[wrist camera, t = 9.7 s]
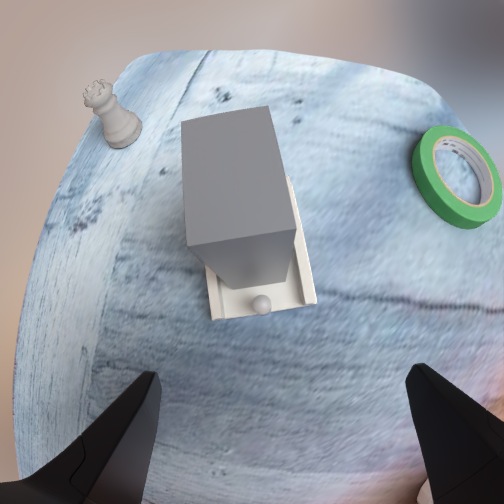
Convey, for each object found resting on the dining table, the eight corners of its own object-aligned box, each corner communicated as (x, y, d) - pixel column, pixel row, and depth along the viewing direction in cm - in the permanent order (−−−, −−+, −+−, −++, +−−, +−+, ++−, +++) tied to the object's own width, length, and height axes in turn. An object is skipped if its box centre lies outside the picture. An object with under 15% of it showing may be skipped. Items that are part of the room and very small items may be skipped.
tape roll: (414, 219, 24) (426, 208, 21) (405, 128, 26) (413, 113, 24) (495, 238, 22) (509, 230, 20) (480, 153, 25) (491, 141, 22)
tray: (315, 306, 22) (324, 302, 18) (215, 323, 22) (202, 322, 18) (290, 187, 25) (293, 161, 21) (201, 203, 25) (188, 180, 21)
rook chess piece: (141, 145, 28) (109, 96, 20) (106, 154, 28) (69, 112, 20) (145, 115, 29) (118, 67, 21) (112, 125, 29) (81, 82, 21)
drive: (285, 281, 22) (296, 228, 10) (232, 290, 22) (186, 246, 10) (272, 208, 23) (268, 105, 12) (223, 216, 24) (180, 121, 12)
